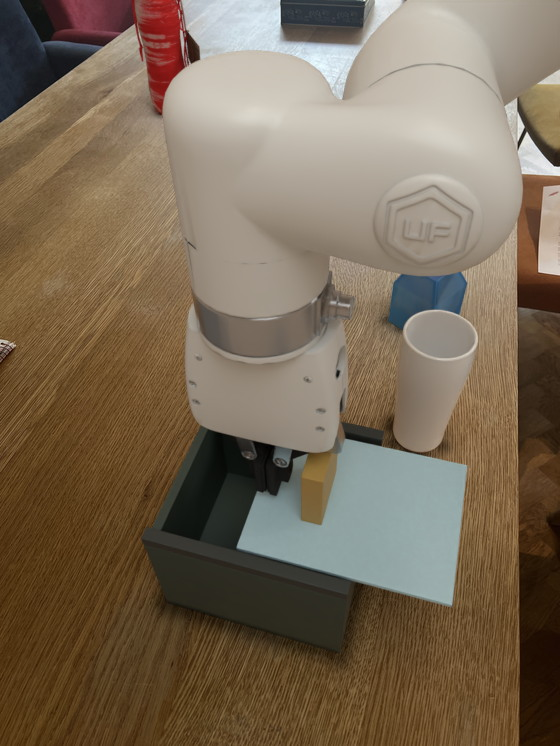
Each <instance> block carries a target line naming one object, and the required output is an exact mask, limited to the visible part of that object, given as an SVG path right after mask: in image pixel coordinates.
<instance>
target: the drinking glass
mask: <svg viewBox="0 0 560 746" xmlns="http://www.w3.org/2000/svg"><path fill="white" fill-rule="evenodd" d="M478 344H479V336H478V332H477V330H476V328H475V326H474V325H473V324H472V323H471V321H469V320H468V319H466V318H465V317H464V316H462V315H458V314H455V313H453V312H449V311H444V310H427V311H422V312H419V313H417V314H415V315H413V316H412V317H411V318H409V319H408V320H407V322H406V323H405V325H404V328H403V330H402V333H401V337H400V342H399V346H398V352H397V361H396V378H395V403H394V419H393V424H392V434H393V436H394V438H395V441H397V443H398V444H399V445H400V446H401V447H403V448H405V449H406V450H408V451H410V452H413V453H428V452H431V451H433V450H435V449H437V447H439V446H440V445H441V443H442V441H443V440H444V437H445V434H446V430H447V427H448V425H449V423H450V420H451V417H452V416H453V413H454V412H455V409H456V406H457V404H458V403H459V399H460V397H461V394H463V391H464V388H465V386H466V383H467V382H468V379H469V376H470V374H471V371H472V368H473V365H474V361H475V358H476V357H475V356H476V354H477V353H476V352H477V348H478Z"/></svg>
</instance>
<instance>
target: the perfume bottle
mask: <svg viewBox="0 0 560 746" xmlns="http://www.w3.org/2000/svg"><path fill="white" fill-rule="evenodd" d="M462 272H463V271H461V272H458V273H454V274H450V275H442V276H413V275H405V274H400V275H399V276H398V277H397V278H396V279H395V280H394V282H392V289H391V297H390V304H389V312H388V319H387V320H388V322H389V323H391V324H392V325H394V326H396V327H397V328H398V329H400V330H402V331H403V328H404V325H405V323H406V322H407V320H408V319H409V318H411V317H412V316H413V315H415V314H417V313H419V312H422V311H427V310H444V311H449V312H453V313H455V314H458V315H460V314H461V310H462V306H463V303H464V299H465V295H466V291H467V287H468V281H467V279H466V277H465V276H464V274H463V273H462ZM460 316H461V315H460Z"/></svg>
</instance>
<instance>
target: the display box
mask: <svg viewBox="0 0 560 746" xmlns="http://www.w3.org/2000/svg"><path fill="white" fill-rule="evenodd" d="M341 423H342V426H343V430H344V433H345V439H349V440H354V441H358V442H363V443H367V444H372V445H376V446H381V447H383V446H384V445H383V444H384V437H385V430H384V429H378V428H374V427H368V426H365V425H359V424H356V423H355V424H354V423H349V422H345V421H341ZM256 493H257V491H256V483H255V475H254V474H250V467H249V459H246V458H245V457H243V456H242V454H241V452H240V449H239V446H238V444H237V443H235V442H234V441H233V440H232V439H230V438H229V437H228V436H227V435H225V434H224V433H220V432H216V431H213V430H210V429H208V428H205V427H203V426H202V425H200V426H199V428H198V429H197V432H196V433H195V436H194V437H193V440H192V442H191V444H190V447H189V448H188V451H187V453H186V455H185V457H184V459H183V461H182V463H181V465H180V468H179V469H178V472H177V474H176V475H175V478H174V480H173V482H172V484H171V486H170V488H169V490H168V493H167V495H166V496H165V499H164V501H163V503H162V505H161V507H160V508H159V511H158V513H157V516H156V517H155V520H154V522H153V524H152V525H151V527H149V526H146V527H145V529H144V530H143V532H142V535H141V537H140V540H141V542H142V544H143V547H144V549H145V552H146V554H147V556H148V559H149V562H150V564H151V567H152V568H153V571H154V575H155V576H156V578H157V581H158V584H159V586H160V588H161V590H162V593H163V596H164V598H165V601H166V603H167V604H170V605H173V606H177V607H180V608H184V609H187V610H189V611H194V612H197V613H201V614H205V615H207V616H210V617H213V618H218V619H221V620H224V621H228V622H230V623H231V622H232V623H234V624H238V625H242V626H245V627H248V628H251V629H255V630H257V631H258V630H259V631H262V632H265V633H269V634H272V635H275V636H278V637H282V638H285V639H289V640H292V641H296V642H298V643H301V644H302V643H303V644H306V645H309V646H312V647H316V648H320V649H322V650H326V651H330V652H332V653H333V652H334V653H337V654H341V651H342V647H343V642H344V638H345V635H346V634H345V633H346V628H347V624H348V620H349V615H350V611H351V605H352V601H353V597H354V591H355V587H356V583H357V582H355V581H351V580H347V579H344V578H340V577H336V576H332V575H329V574H325V573H321V572H317V571H314V570H310V569H306V568H302V567H299V566H295V565H291V564H288V563H284V562H280V561H276V560H273V559H269V558H265V557H261V556H258V555H254V554H250V553H246V552H243V551H239V550H237V548H236V547H237V544H238V542H239V539H240V536H241V534H242V531H243V528H244V525H245V523H246V520H247V517H248V515H249V512H250V509H251V506H252V504H253V501H254V498H255V496H256Z"/></svg>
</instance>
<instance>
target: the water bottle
mask: <svg viewBox="0 0 560 746" xmlns="http://www.w3.org/2000/svg"><path fill="white" fill-rule="evenodd" d="M130 2H131V7H132V8H131V9H132V15H133V22H134V27H135V32H136V38H137V41H138V46H139V47H138V51H139V55H140V59H141V62H144V58H145V65H146V66H145V67H146V74H147V83H148V91H149V95H150V100H151V103H152V105H153V106H154V109H155V110H156V111H157V112H158V113H159V114H160V115H162V111H163V102H164V97H165V93H166V91H167V89H168V87H169V85H170V83H171V81H172V80H173V78H174V77H175V76H176V75H177V74H179V73H180V72H181V71H182V70H183V69H184V68H186V67H187V66H189V65H190V64H192V63H194V62H196V61H198V60H201V50H200V45H199V44H198V43H197V41H196V40H195V39H194V37H193V36H192V35H191V34H190V30H189V29H187V23H186V16H185V10H184V6H183V5H184V4H183V0H131V1H130ZM181 31H182V37H183V47H182V41H181ZM143 53H144V54H143Z"/></svg>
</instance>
